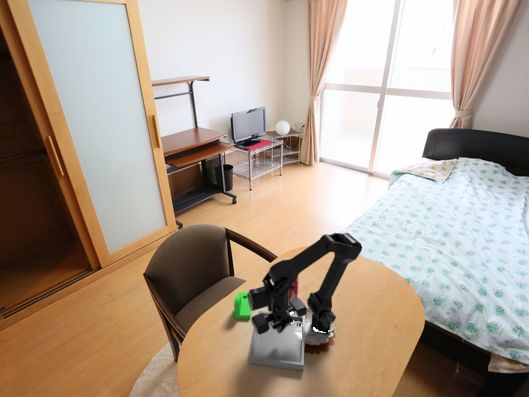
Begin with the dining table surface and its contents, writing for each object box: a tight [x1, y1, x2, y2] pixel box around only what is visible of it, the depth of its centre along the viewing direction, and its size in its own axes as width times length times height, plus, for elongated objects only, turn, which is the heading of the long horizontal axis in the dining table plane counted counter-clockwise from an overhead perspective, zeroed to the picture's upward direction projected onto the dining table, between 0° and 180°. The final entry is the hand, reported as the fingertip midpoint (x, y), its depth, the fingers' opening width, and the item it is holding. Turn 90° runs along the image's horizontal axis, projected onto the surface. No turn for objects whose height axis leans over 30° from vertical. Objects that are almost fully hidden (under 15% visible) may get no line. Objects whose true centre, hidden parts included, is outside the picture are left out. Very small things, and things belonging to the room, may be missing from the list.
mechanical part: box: [233, 291, 252, 320], centre depth 117 cm, size 12×6×8 cm, turn 178°
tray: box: [248, 310, 306, 372], centre depth 103 cm, size 18×20×3 cm
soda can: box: [289, 276, 299, 301], centre depth 119 cm, size 7×7×13 cm
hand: (279, 332), depth 102 cm, fingers closed
